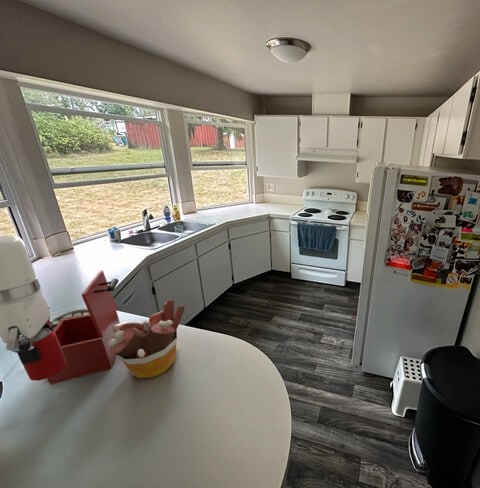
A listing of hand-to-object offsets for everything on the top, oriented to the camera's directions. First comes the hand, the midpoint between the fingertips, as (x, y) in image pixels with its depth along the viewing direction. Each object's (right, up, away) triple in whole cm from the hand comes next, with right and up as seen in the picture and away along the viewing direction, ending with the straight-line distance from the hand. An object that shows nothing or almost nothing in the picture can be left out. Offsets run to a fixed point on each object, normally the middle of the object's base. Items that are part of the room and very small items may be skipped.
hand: (40, 350), depth 63 cm
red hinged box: (-7, -11, +21) cm, 25 cm away
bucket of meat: (+17, -13, +19) cm, 28 cm away
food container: (-19, -8, +30) cm, 36 cm away
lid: (0, +8, +17) cm, 19 cm away
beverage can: (0, -7, +3) cm, 7 cm away
